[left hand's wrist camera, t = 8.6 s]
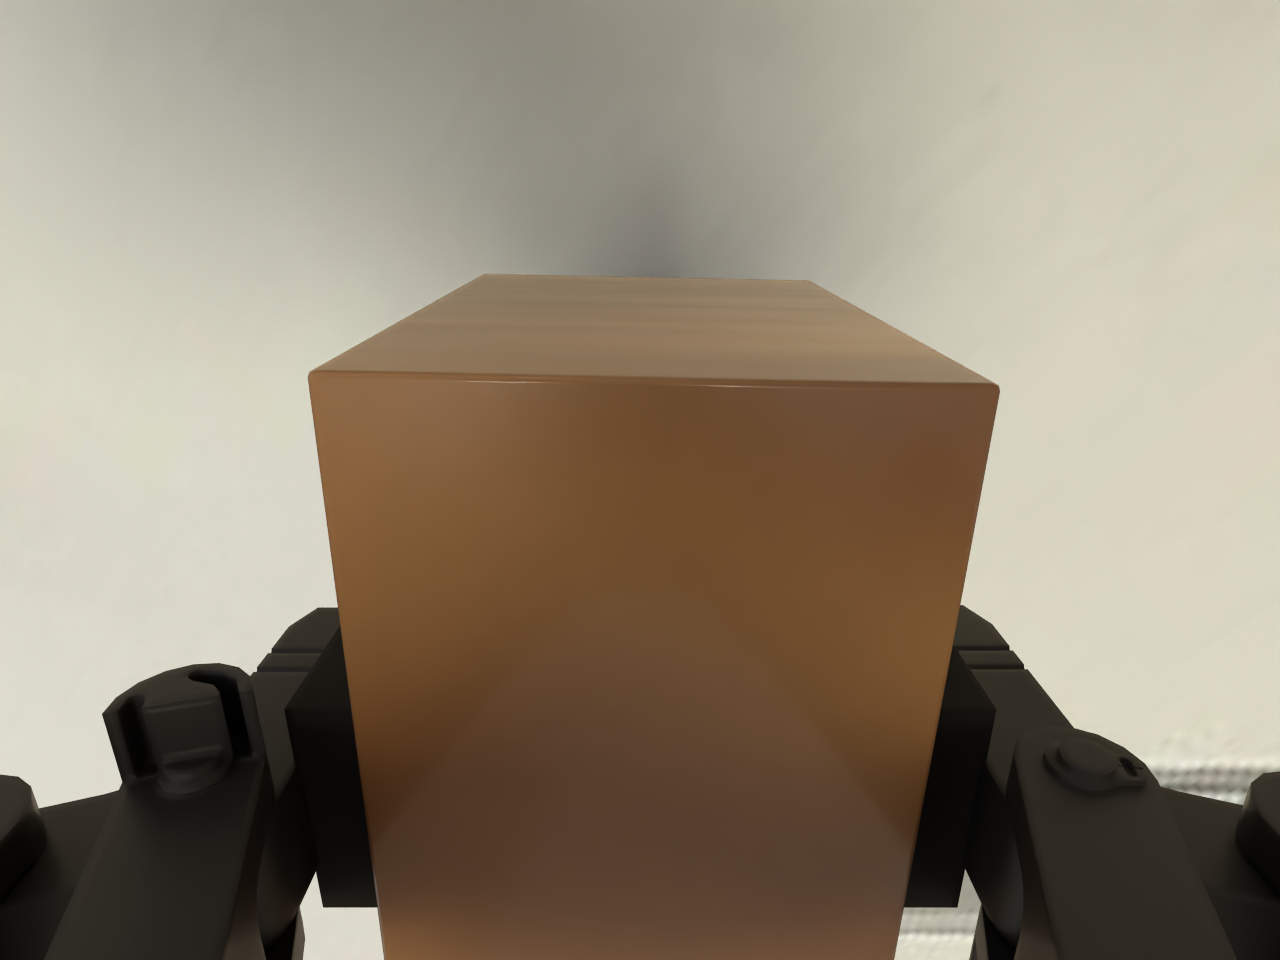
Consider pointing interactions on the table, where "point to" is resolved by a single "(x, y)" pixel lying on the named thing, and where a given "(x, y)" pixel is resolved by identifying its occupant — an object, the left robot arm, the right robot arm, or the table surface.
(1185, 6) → the table surface
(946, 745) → the left robot arm
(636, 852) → the beam
